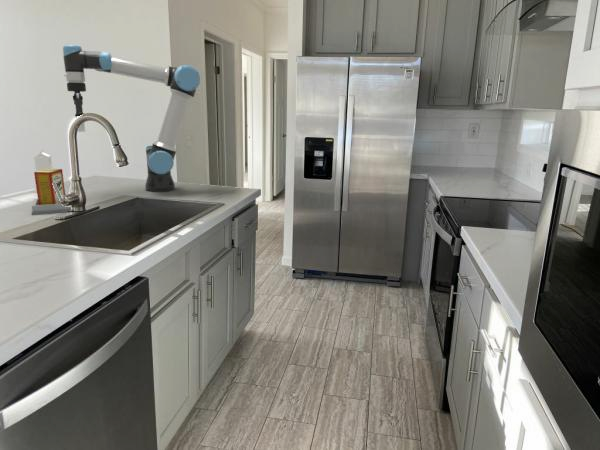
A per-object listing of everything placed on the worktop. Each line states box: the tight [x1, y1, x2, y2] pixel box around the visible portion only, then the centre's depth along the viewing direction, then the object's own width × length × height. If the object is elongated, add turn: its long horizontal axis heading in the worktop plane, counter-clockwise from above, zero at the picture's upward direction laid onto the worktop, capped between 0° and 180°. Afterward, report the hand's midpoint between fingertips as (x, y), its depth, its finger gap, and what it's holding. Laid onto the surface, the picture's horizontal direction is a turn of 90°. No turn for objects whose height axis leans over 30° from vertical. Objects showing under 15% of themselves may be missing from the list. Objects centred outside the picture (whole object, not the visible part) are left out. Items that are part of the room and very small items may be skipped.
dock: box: [31, 198, 71, 216], centre depth 191 cm, size 15×16×4 cm
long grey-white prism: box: [33, 149, 53, 172], centre depth 217 cm, size 6×6×22 cm
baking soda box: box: [34, 168, 66, 205], centre depth 189 cm, size 10×6×16 cm
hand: (81, 130), depth 206 cm, fingers open, 13 cm apart
